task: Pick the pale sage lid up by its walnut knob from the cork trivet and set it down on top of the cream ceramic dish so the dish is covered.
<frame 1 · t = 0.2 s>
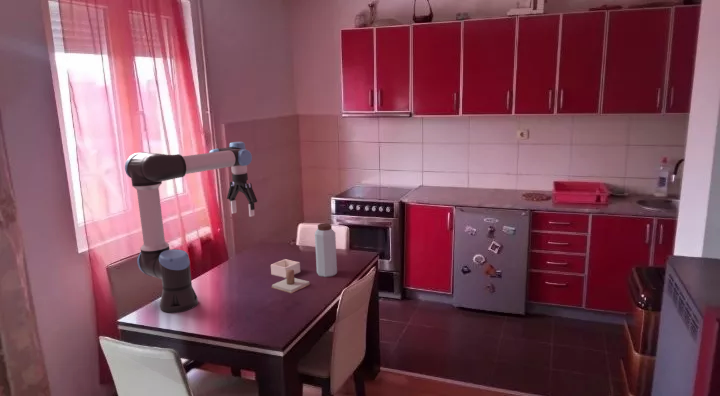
hand: (243, 214, 256), 28 cm above the table, fingers open, 13 cm apart
lid: (290, 285, 233), resting on trivet
dish: (285, 274, 250), on the table
water bottle: (327, 275, 247), on the table
trivet: (290, 286, 233), on the table
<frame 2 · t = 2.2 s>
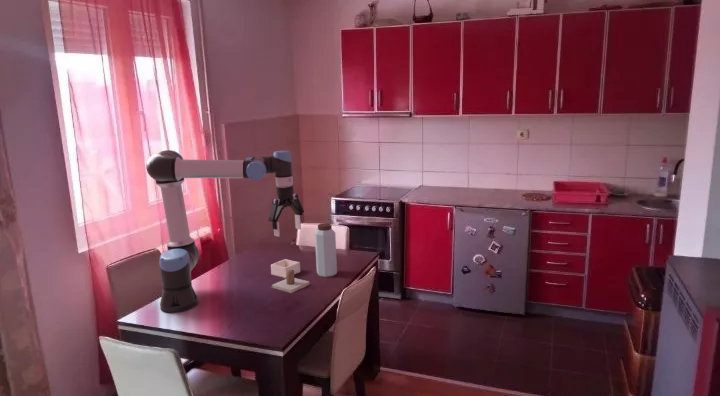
hand: (287, 232, 228), 26 cm above the table, fingers open, 13 cm apart
nothing on the table moved.
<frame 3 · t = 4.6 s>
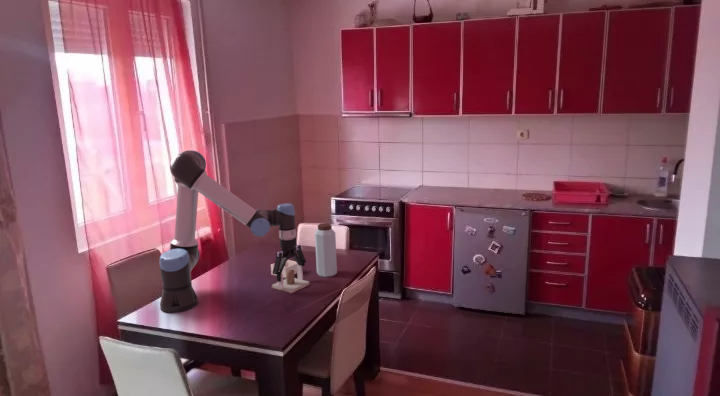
hand: (290, 283, 232), 2 cm above the table, fingers closed on lid, 12 cm apart
lid: (290, 285, 233), resting on trivet, touching gripper
everything else where it was.
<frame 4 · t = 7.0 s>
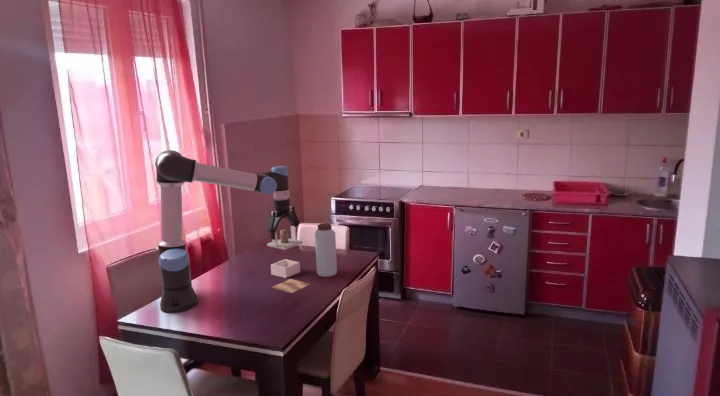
hand: (284, 242, 245), 17 cm above the table, fingers closed on lid, 12 cm apart
lid: (284, 244, 245), point 15 cm above the table, touching gripper
everything else where it was.
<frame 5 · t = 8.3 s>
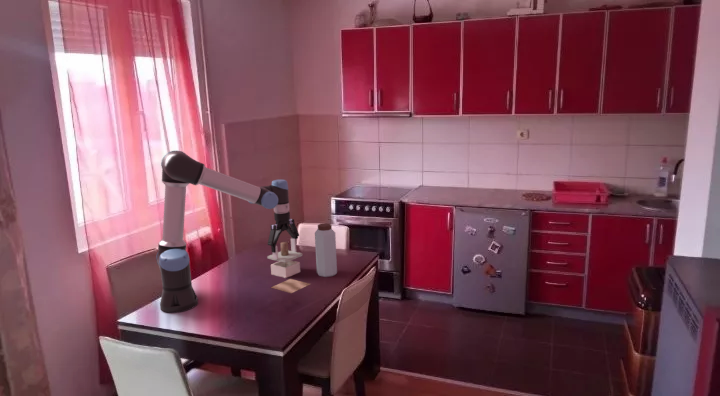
hand: (284, 254, 248), 10 cm above the table, fingers closed on lid, 12 cm apart
lid: (285, 257, 248), point 9 cm above the table, touching gripper
everything else where it was.
when the fingers open (7 cm above the table, at t = 9.4 s): lid stays where it is, resting on dish.
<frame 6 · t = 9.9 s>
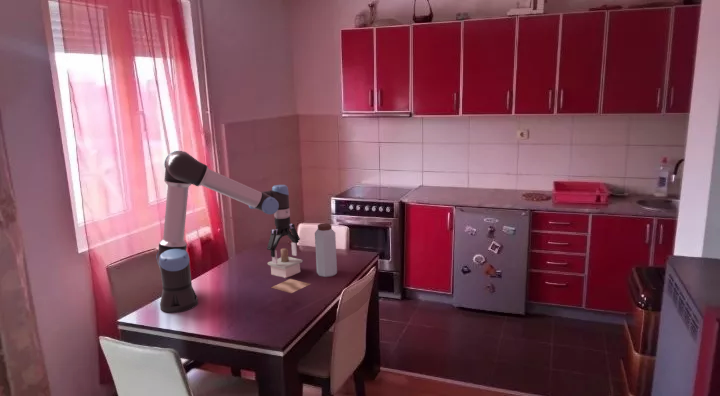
hand: (284, 259, 248), 8 cm above the table, fingers open, 13 cm apart
lid: (285, 263, 248), point 5 cm above the table, touching dish
everything else where it was.
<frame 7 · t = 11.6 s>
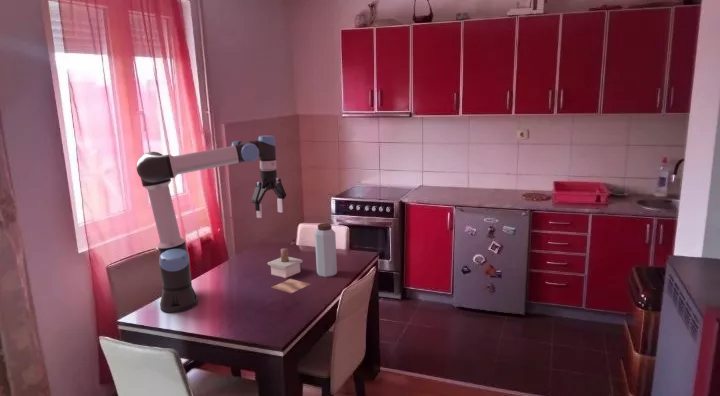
hand: (270, 214, 236), 32 cm above the table, fingers open, 13 cm apart
nothing on the table moved.
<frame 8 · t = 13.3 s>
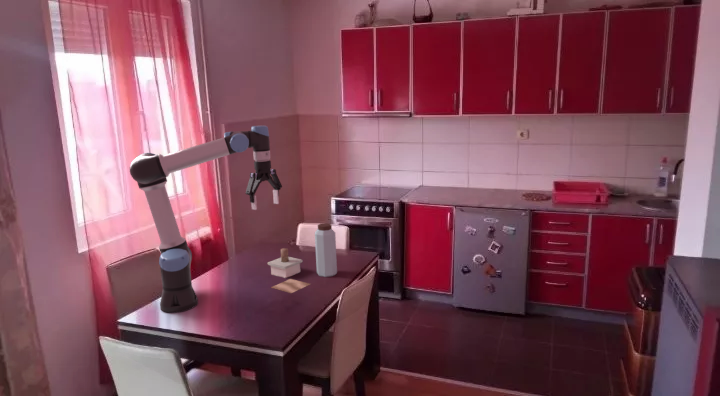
hand: (265, 206, 232), 37 cm above the table, fingers open, 13 cm apart
nothing on the table moved.
at the end: lid 0.0 cm off-centre on the dish, point 5.5 cm above the dish's base; lid tilted 0°; the gripper is holding nothing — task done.
